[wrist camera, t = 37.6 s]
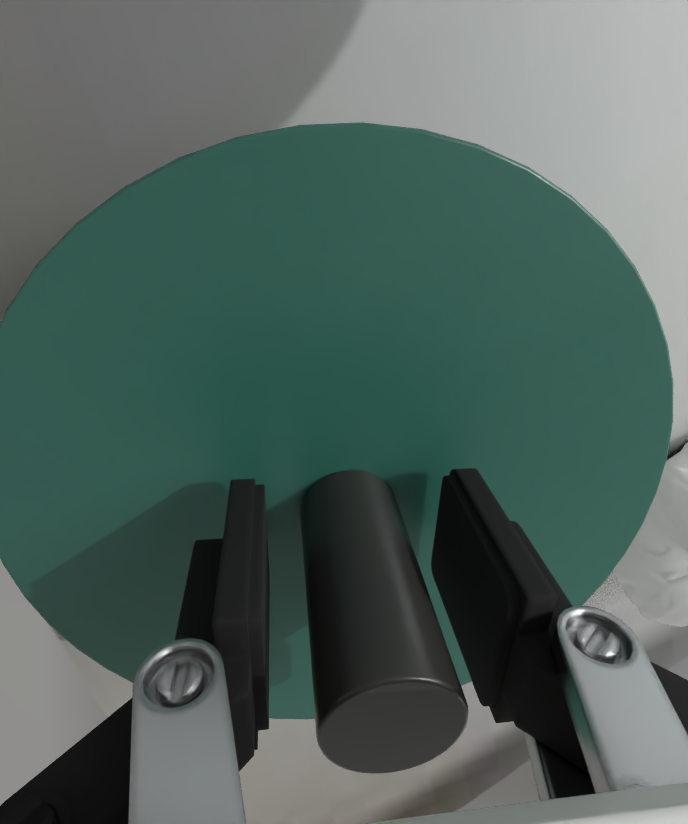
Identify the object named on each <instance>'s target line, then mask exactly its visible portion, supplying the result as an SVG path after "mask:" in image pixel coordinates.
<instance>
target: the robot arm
mask: <svg viewBox="0 0 688 824" xmlns="http://www.w3.org/2000/svg"><path fill="white" fill-rule="evenodd" d="M431 569H432V575H433V578H434V580H435V583H436V586H437V589H438V591H439V594H440V597H441V599H442V602H443V605H444V607H445V610H446V613H447V615H448V618H449V621H450V623H451V626H452V629H453V631H454V634H455V637H456V639H457V642H458V645H459V647H460V650H461V653H462V655H463V658H464V661H465V664H466V666H467V669H468V672H469V674H470V677H471V680H472V682H473V685H474V688H475V690H476V693H477V696H478V698H479V701H480V703H481V704H482V705H483V706H489V707H490V709H491V712H492V714H493V717H494V720H495V722H496V723H501V722H510V721H514V723H515V725H516V727H518V728H520V729H521V730H523V731H524V732H525V740H526V744H527V748H528V753H529V757H530V761H531V766H532V770H533V774H534V779H535V783H536V787H537V792H538V796H539V800H540V801H534V802H526V803H519V804H510V805H503V806H495V807H488V808H480V809H472V810H465V811H457V812H449V813H441V814H434V815H426V816H419V817H411V818H403V819H396V820H388V821H381V822H373V823H366V824H688V680H686V679H684V678H682V677H680V676H678V675H676V674H674V673H672V672H670V671H668V670H666V669H664V668H662V667H660V666H658V665H656V664H654V663H652V662H650V660H649V658H648V656H647V655H646V653H645V651H644V649H643V647H642V645H641V643H640V641H639V639H638V638H637V636H636V635H635V633H634V632H633V631H632V629H631V628H630V627H628V626H627V625H626V624H625V623H624V622H623V621H622V620H620V619H619V618H617V617H616V616H614V615H612V614H611V613H609V612H606V611H604V610H601V609H599V608H595V607H589V606H572V604H571V603H570V601H569V600H568V598H567V597H566V595H565V593H564V592H563V590H562V589H561V587H560V586H559V584H558V583H557V581H556V580H555V578H554V577H553V575H552V574H551V572H550V571H549V569H548V568H547V566H546V564H545V563H544V561H543V560H542V558H541V557H540V555H539V554H538V552H537V551H536V549H535V548H534V546H533V545H532V543H531V542H530V540H529V538H528V537H527V535H526V534H525V532H524V531H523V529H522V528H521V526H520V525H519V524H518V523H517V522H515V521H510V520H509V518H508V517H507V515H506V514H505V512H504V511H503V509H502V507H501V506H500V504H499V503H498V501H497V500H496V498H495V496H494V495H493V493H492V492H491V490H490V489H489V487H488V485H487V484H486V482H485V481H484V479H483V478H482V476H481V474H480V473H479V471H478V470H477V469H475V468H466V469H452V470H451V472H450V474H449V475H446V476H444V477H443V479H442V485H441V492H440V499H439V507H438V514H437V522H436V529H435V536H434V544H433V551H432V558H431ZM269 627H270V574H269V555H268V536H267V517H266V499H265V484H262V485H256V482H255V479H234V480H231V481H230V488H229V495H228V503H227V511H226V519H225V527H224V534H223V538H222V539H205V540H196V541H195V543H194V546H193V551H192V556H191V561H190V566H189V571H188V576H187V581H186V586H185V591H184V596H183V601H182V606H181V611H180V616H179V621H178V626H177V631H176V636H175V641H172V642H170V643H167V644H164V645H163V646H161V647H160V648H158V649H156V650H155V651H153V652H152V653H151V654H150V655H149V656H148V657H147V658H146V659H145V660H144V661H143V662H142V664H141V666H140V667H139V669H138V671H137V673H136V675H135V679H134V684H133V697H132V698H131V699H130V700H129V701H128V702H127V703H125V704H124V705H123V706H122V707H120V708H119V709H118V710H117V711H115V712H114V713H113V714H112V715H111V716H109V717H108V718H107V719H106V720H104V721H103V722H102V723H101V724H100V725H98V726H97V727H96V728H95V729H93V730H92V731H91V732H90V733H89V734H87V735H86V736H85V737H84V738H82V739H81V740H80V741H79V742H77V743H76V744H75V745H74V746H72V747H71V748H70V749H69V750H68V751H67V752H65V753H64V754H63V755H62V756H60V757H59V758H58V759H56V760H55V761H54V762H53V763H52V764H50V765H49V766H48V767H47V768H46V769H44V770H43V771H42V772H41V773H39V774H38V775H37V776H36V777H34V778H33V779H32V780H31V781H29V782H28V783H27V784H26V785H25V786H24V787H22V788H21V789H20V790H19V791H17V792H16V793H15V794H13V795H12V796H11V797H10V798H9V799H7V800H6V801H5V802H4V803H3V804H2V805H1V806H0V824H246V818H245V811H244V804H243V797H242V790H241V783H240V776H239V771H240V770H241V769H242V768H243V767H244V766H245V765H246V763H247V762H248V761H249V760H250V759H251V758H252V757H253V756H254V750H256V749H257V748H258V730H266V729H269Z"/></svg>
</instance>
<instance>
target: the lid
mask: <svg viewBox="0 0 688 824" xmlns="http://www.w3.org/2000/svg"><path fill="white" fill-rule="evenodd" d="M672 423H673V378H672V372H671V365H670V358H669V351H668V345H667V341H666V338H665V335H664V332H663V329H662V326H661V323H660V319H659V316H658V313H657V310H656V307H655V304H654V302H653V300H652V299H651V297H650V295H649V293H648V291H647V289H646V287H645V285H644V283H643V281H642V279H641V277H640V275H639V273H638V271H637V269H636V268H635V266H634V264H633V263H632V262H631V260H630V259H629V258H628V256H627V255H626V254H625V252H624V251H623V250H622V248H621V247H620V246H619V244H618V243H617V242H616V241H615V239H614V238H613V237H612V235H611V234H610V233H609V231H608V230H607V229H606V228H605V227H604V226H603V225H602V224H601V223H600V222H599V221H598V220H597V219H596V218H594V217H593V216H592V215H591V214H590V213H589V212H588V211H587V210H586V209H585V208H584V207H583V206H582V205H581V204H580V203H579V202H577V201H576V200H575V199H574V198H573V197H572V196H571V195H569V194H568V193H566V192H565V191H563V190H562V189H560V188H559V187H557V186H556V185H554V184H553V183H551V182H550V181H548V180H547V179H545V178H544V177H542V176H541V175H539V174H538V173H536V172H535V171H533V170H532V169H530V168H529V167H527V166H525V165H522V164H520V163H518V162H516V161H513V160H511V159H509V158H507V157H505V156H502V155H500V154H498V153H496V152H494V151H491V150H489V149H487V148H485V147H483V146H480V145H478V144H474V143H471V142H467V141H463V140H460V139H456V138H452V137H449V136H445V135H441V134H438V133H434V132H430V131H427V130H423V129H415V128H406V127H397V126H388V125H379V124H370V123H340V124H315V125H298V126H292V127H287V128H282V129H277V130H272V131H266V132H261V133H256V134H251V135H246V136H241V137H236V138H234V139H231V140H228V141H225V142H222V143H219V144H217V145H214V146H211V147H208V148H205V149H203V150H200V151H197V152H194V153H191V154H188V155H186V156H183V157H180V158H177V159H176V160H174V161H172V162H170V163H168V164H166V165H164V166H163V167H161V168H159V169H157V170H155V171H153V172H151V173H150V174H148V175H146V176H144V177H142V178H140V179H138V180H137V181H135V182H133V183H131V184H129V185H127V186H125V187H124V188H122V189H121V190H120V191H118V192H117V193H116V194H114V195H113V196H112V197H110V198H109V199H108V200H107V201H105V202H104V203H103V204H101V205H100V206H99V207H97V208H96V209H95V210H93V211H92V212H91V213H89V214H88V215H87V216H85V217H84V218H83V219H82V220H80V221H79V222H78V223H76V224H75V225H74V226H73V227H72V229H71V230H70V231H69V232H68V233H67V234H66V235H65V236H64V237H63V238H62V239H61V240H60V241H59V242H58V243H57V244H56V245H55V246H54V247H53V249H52V250H51V251H50V252H49V253H48V254H47V255H46V256H45V257H44V258H43V259H42V260H41V261H40V262H39V263H38V264H37V266H36V267H35V269H34V270H33V272H32V273H31V275H30V276H29V277H28V279H27V280H26V282H25V283H24V285H23V286H22V288H21V289H20V291H19V292H18V294H17V295H16V297H15V298H14V300H13V301H12V303H11V304H10V306H9V307H8V309H7V311H6V313H5V315H4V317H3V320H2V322H1V324H0V558H1V560H2V563H3V565H4V566H5V568H6V569H7V571H8V572H9V574H10V575H11V577H12V578H13V580H14V581H15V583H16V584H17V586H18V587H19V589H20V590H21V592H22V593H23V595H24V596H25V598H26V599H27V600H28V601H29V602H30V603H31V604H32V605H33V607H34V608H35V609H36V610H37V611H38V612H39V613H40V615H41V616H42V617H43V618H44V619H45V620H46V621H47V623H48V624H49V625H50V626H52V627H53V628H54V629H55V630H56V631H57V632H58V633H60V634H61V635H62V636H63V637H64V638H65V639H66V640H68V641H69V642H70V643H71V644H72V645H73V646H75V647H76V648H77V649H78V650H80V651H81V652H83V653H84V654H86V655H87V656H89V657H90V658H92V659H93V660H94V661H96V662H97V663H99V664H100V665H102V666H103V667H105V668H106V669H108V670H110V671H112V672H114V673H116V674H117V675H119V676H121V677H123V678H125V679H127V680H129V681H131V682H133V683H134V679H135V675H136V673H137V671H138V669H139V667H140V666H141V664H142V662H143V661H144V660H145V659H146V658H147V657H148V656H149V655H150V654H151V653H152V652H153V651H155V650H156V649H158V648H160V647H161V646H163V645H164V644H167V643H170V642H172V641H175V636H176V631H177V626H178V621H179V616H180V611H181V606H182V601H183V596H184V591H185V586H186V581H187V576H188V571H189V566H190V561H191V556H192V551H193V546H194V543H195V541H196V540H205V539H222V538H223V534H224V527H225V519H226V511H227V503H228V495H229V488H230V481H231V480H234V479H255V482H256V485H262V484H265V499H266V517H267V536H268V555H269V574H270V627H269V718H273V719H315V723H316V736H317V742H318V745H319V747H320V749H321V750H322V752H323V754H324V755H325V756H326V757H327V758H328V759H329V760H330V761H331V762H333V763H334V764H336V765H338V766H340V767H342V768H345V769H348V770H351V771H356V772H361V773H389V772H396V771H401V770H405V769H409V768H412V767H415V766H418V765H421V764H423V763H426V762H428V761H430V760H432V759H434V758H435V757H437V756H439V755H440V754H442V753H443V752H445V751H446V750H447V749H448V748H450V747H451V746H452V745H453V744H454V743H455V742H456V741H457V740H458V738H459V737H460V736H461V734H462V733H463V731H464V729H465V727H466V724H467V719H468V705H467V702H466V699H465V696H464V693H463V690H462V688H461V685H464V684H466V683H469V682H471V681H472V680H471V677H470V674H469V672H468V669H467V666H466V664H465V661H464V658H463V655H462V653H461V650H460V647H459V645H458V642H457V639H456V637H455V634H454V631H453V629H452V626H451V623H450V621H449V618H448V615H447V613H446V610H445V607H444V605H443V602H442V599H441V597H440V594H439V591H438V589H437V586H436V583H435V580H434V578H433V575H432V569H431V558H432V551H433V544H434V536H435V529H436V522H437V514H438V507H439V499H440V492H441V485H442V479H443V477H444V476H446V475H449V474H450V472H451V470H452V469H466V468H475V469H477V470H478V471H479V473H480V474H481V476H482V478H483V479H484V481H485V482H486V484H487V485H488V487H489V489H490V490H491V492H492V493H493V495H494V496H495V498H496V500H497V501H498V503H499V504H500V506H501V507H502V509H503V511H504V512H505V514H506V515H507V517H508V518H509V520H510V521H515V522H517V523H518V524H519V525H520V526H521V528H522V529H523V531H524V532H525V534H526V535H527V537H528V538H529V540H530V542H531V543H532V545H533V546H534V548H535V549H536V551H537V552H538V554H539V555H540V557H541V558H542V560H543V561H544V563H545V564H546V566H547V568H548V569H549V571H550V572H551V574H552V575H553V577H554V578H555V580H556V581H557V583H558V584H559V586H560V587H561V589H562V590H563V592H564V593H565V595H566V597H567V598H568V600H569V601H570V603H571V604H572V606H582V605H583V604H584V603H585V602H586V601H587V600H588V599H589V598H590V597H591V595H592V594H593V593H594V592H595V591H596V590H597V589H598V588H599V587H600V586H601V585H602V584H603V582H604V581H605V580H606V579H607V577H608V576H609V575H610V573H611V572H612V571H613V569H614V568H615V567H616V565H617V564H618V563H619V561H620V560H621V559H622V557H623V556H624V555H625V553H626V551H627V550H628V548H629V546H630V545H631V543H632V541H633V540H634V538H635V536H636V535H637V533H638V531H639V529H640V528H641V526H642V524H643V522H644V520H645V518H646V515H647V513H648V511H649V509H650V506H651V504H652V502H653V500H654V497H655V495H656V493H657V490H658V487H659V483H660V480H661V477H662V473H663V470H664V467H665V463H666V460H667V456H668V449H669V443H670V436H671V430H672Z"/></svg>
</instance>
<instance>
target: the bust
mask: <svg viewBox="0 0 688 824" xmlns="http://www.w3.org/2000/svg"><path fill="white" fill-rule="evenodd" d="M613 573H614V575H615V577H616V578H617V580H618V581H619V583H620V585H621V587H622V589H623V591H624V593H625V594H626V595H627V596H628V598H629V599H630V600H631V601H632V602H633V603H634V604H635V605H636V606H637V608H638V610H639V611H640V613H641V614H642V615H643V616H644V617H646V618H647V619H649V620H652V621H655V622H658V623H662V624H667V625H673V626H688V442H687V443H686V444H685V445H684V447H683V449H682V450H681V451H680V452H679V453H677V454H675V455H674V456H672V457H671V458H670V459H668V460H667V461H666V463H665V467H664V470H663V473H662V477H661V480H660V483H659V487H658V490H657V493H656V495H655V497H654V500H653V502H652V504H651V506H650V509H649V511H648V513H647V515H646V518H645V520H644V522H643V524H642V526H641V528H640V529H639V531H638V533H637V535H636V536H635V538H634V540H633V541H632V543H631V545H630V546H629V548H628V550H627V551H626V553H625V555H624V556H623V557H622V559H621V560H620V561H619V563H618V564H617V565H616V567H615V568H614V569H613Z"/></svg>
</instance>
